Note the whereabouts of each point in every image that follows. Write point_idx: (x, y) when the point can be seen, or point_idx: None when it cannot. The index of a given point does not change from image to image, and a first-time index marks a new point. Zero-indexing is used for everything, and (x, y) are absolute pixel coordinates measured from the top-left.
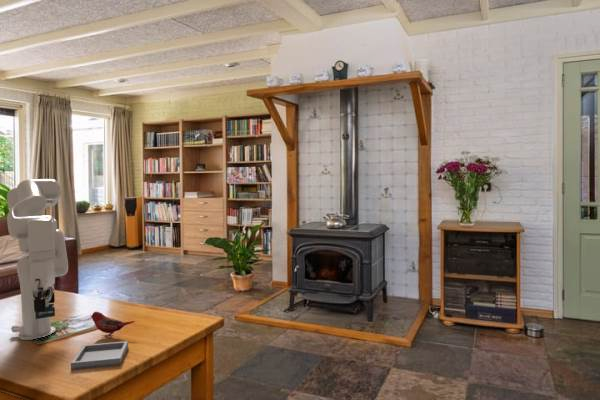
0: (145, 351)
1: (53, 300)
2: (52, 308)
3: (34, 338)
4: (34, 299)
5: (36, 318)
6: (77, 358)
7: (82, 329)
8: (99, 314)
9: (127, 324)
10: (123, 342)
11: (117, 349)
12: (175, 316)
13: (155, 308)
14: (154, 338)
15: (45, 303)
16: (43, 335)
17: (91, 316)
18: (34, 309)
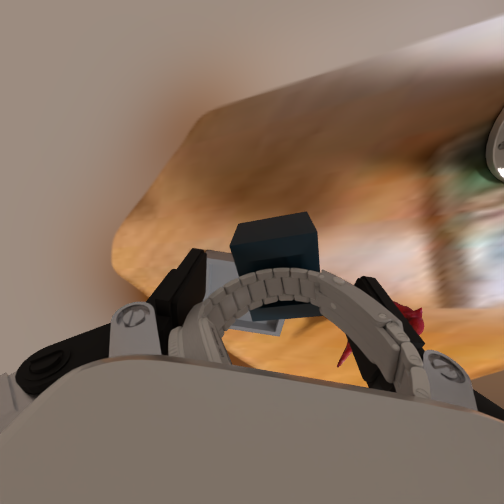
0: (249, 343)
1: None
2: (250, 310)
3: (496, 125)
4: (122, 313)
5: (238, 227)
6: (227, 265)
7: (470, 252)
8: None
9: (344, 351)
10: (275, 330)
11: None
12: None
13: (484, 373)
14: (301, 356)
15: (212, 319)
16: (493, 155)
17: (417, 313)
18: (188, 254)
